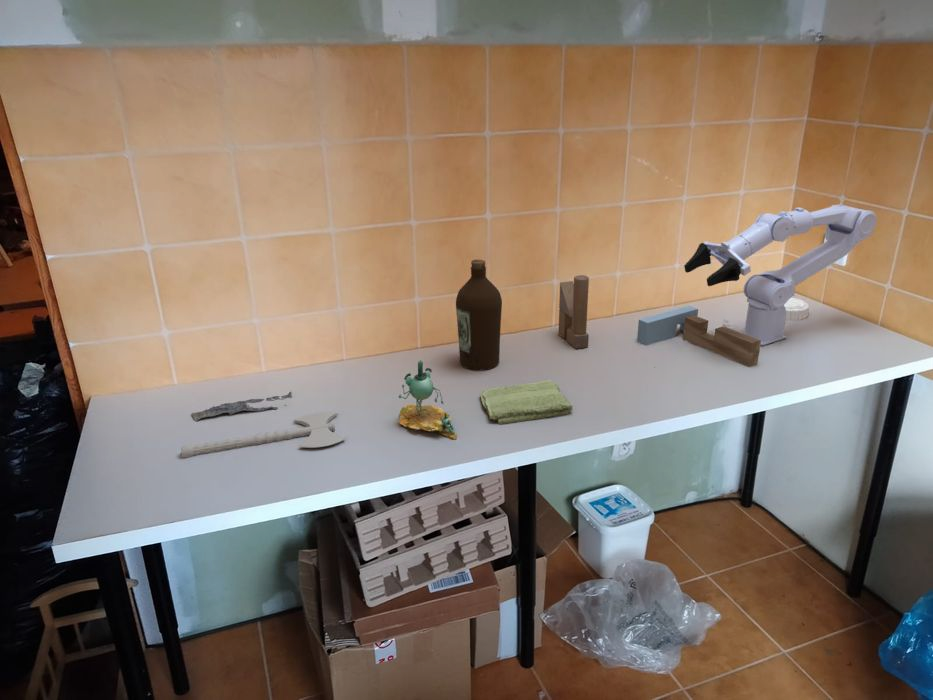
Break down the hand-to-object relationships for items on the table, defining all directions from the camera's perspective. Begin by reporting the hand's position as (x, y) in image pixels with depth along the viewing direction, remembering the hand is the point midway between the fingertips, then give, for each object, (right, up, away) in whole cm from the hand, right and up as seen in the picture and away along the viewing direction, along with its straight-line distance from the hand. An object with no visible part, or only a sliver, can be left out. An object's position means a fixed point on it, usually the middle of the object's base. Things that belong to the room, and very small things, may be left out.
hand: (696, 275), depth 164 cm
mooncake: (+34, -7, +31) cm, 47 cm away
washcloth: (-41, -30, -16) cm, 53 cm away
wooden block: (-26, -15, +16) cm, 34 cm away
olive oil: (-51, -20, +4) cm, 55 cm away
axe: (-93, -36, -27) cm, 103 cm away
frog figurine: (-62, -32, -22) cm, 73 cm away
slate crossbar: (-2, -14, +17) cm, 22 cm away
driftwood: (-101, -30, -15) cm, 106 cm away
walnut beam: (+8, -18, +8) cm, 21 cm away
